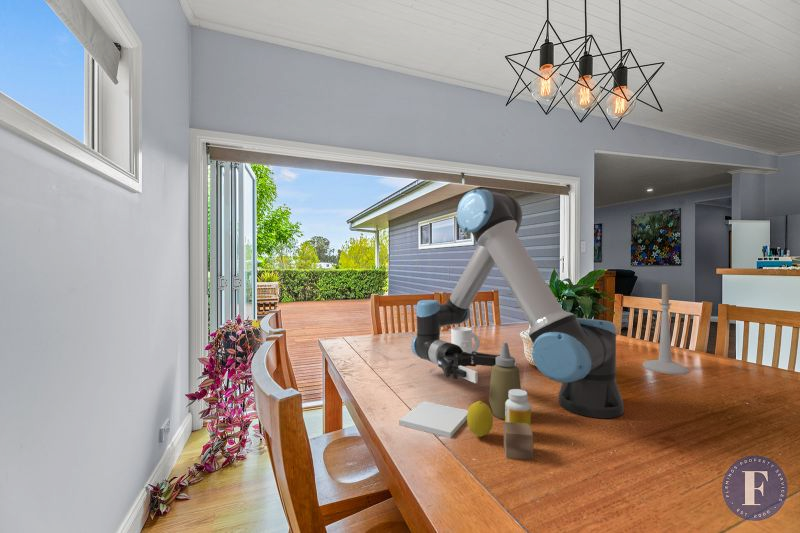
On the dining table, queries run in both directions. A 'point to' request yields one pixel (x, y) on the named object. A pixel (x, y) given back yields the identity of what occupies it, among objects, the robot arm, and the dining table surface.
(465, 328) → the mug
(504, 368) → the squeeze bottle
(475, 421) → the lemon
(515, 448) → the grey cube
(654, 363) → the candlestick
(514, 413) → the supplement bottle
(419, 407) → the grey board
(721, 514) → the dining table surface
